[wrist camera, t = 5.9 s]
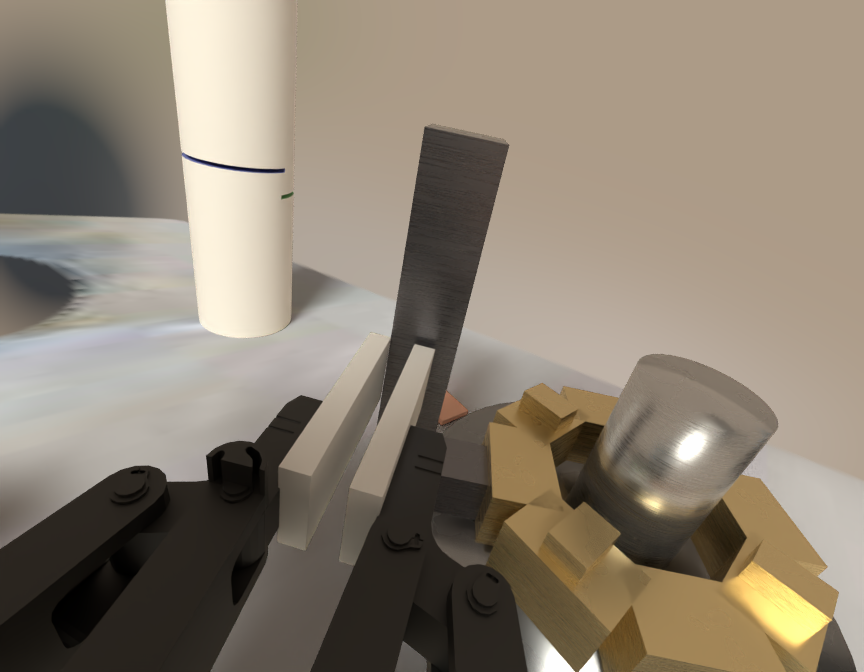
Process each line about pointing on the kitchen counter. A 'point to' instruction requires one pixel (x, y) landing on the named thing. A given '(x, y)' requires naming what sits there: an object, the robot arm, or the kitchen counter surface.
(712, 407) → the flange
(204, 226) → the cylindrical container
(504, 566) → the geared hub with post
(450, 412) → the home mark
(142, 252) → the kitchen counter surface
